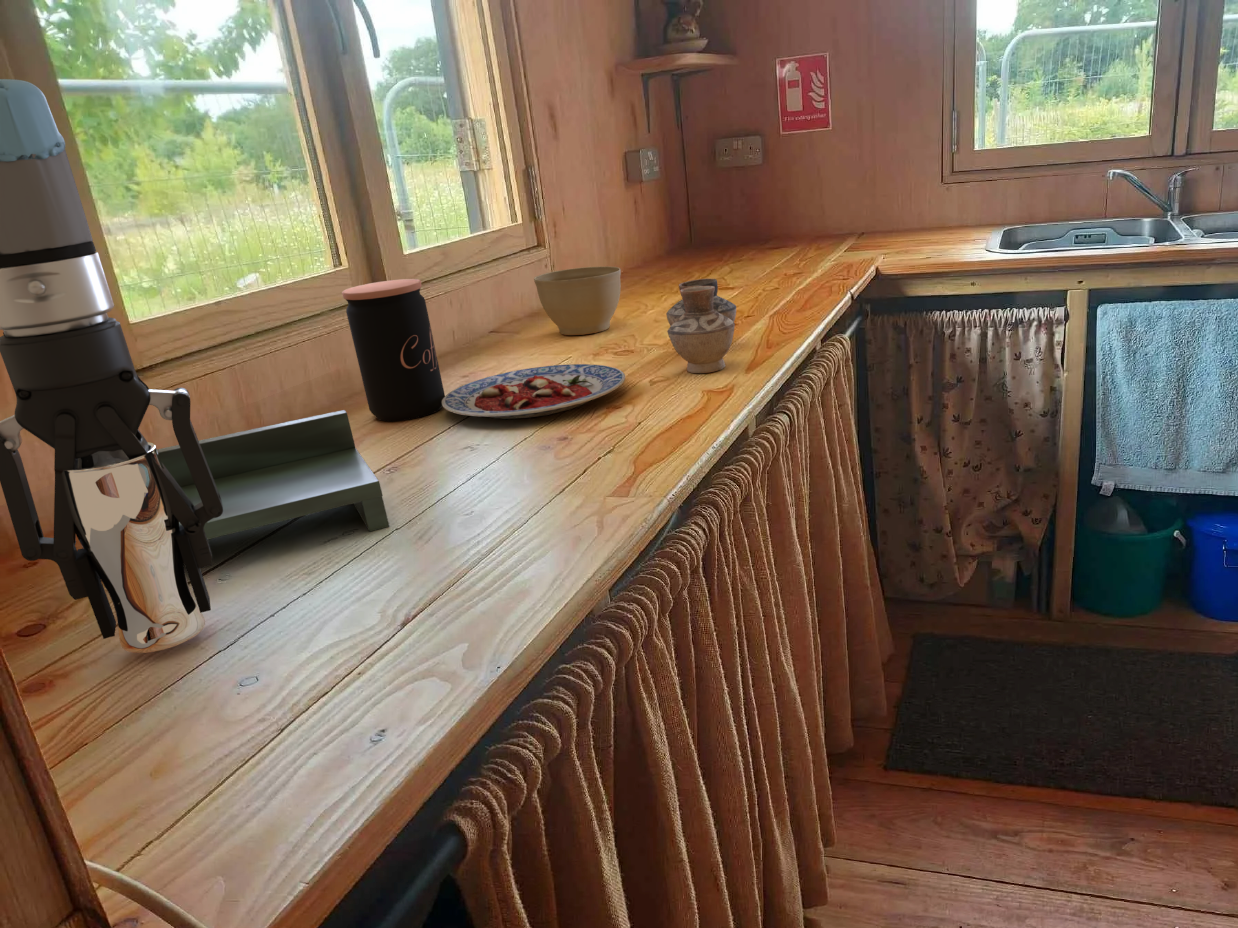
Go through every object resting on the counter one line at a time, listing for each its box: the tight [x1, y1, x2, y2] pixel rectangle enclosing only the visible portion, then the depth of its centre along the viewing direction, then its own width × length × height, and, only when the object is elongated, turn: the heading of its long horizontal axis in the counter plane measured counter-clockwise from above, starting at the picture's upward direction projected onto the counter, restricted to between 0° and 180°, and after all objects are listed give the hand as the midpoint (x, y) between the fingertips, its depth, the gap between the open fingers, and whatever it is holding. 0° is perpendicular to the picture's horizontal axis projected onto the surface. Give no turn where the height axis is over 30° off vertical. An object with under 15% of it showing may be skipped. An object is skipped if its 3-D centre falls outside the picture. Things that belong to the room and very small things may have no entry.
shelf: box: [156, 409, 390, 541], centre depth 97 cm, size 16×22×9 cm
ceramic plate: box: [442, 363, 626, 420], centre depth 137 cm, size 26×26×3 cm
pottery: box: [666, 278, 737, 374], centre depth 149 cm, size 11×25×12 cm, turn 0°
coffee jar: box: [341, 278, 446, 422], centre depth 137 cm, size 11×11×18 cm
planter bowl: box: [533, 265, 622, 336], centre depth 182 cm, size 16×16×11 cm
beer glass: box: [62, 441, 206, 654], centre depth 74 cm, size 7×7×15 cm
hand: (158, 617), depth 76 cm, fingers closed on beer glass, 6 cm apart
